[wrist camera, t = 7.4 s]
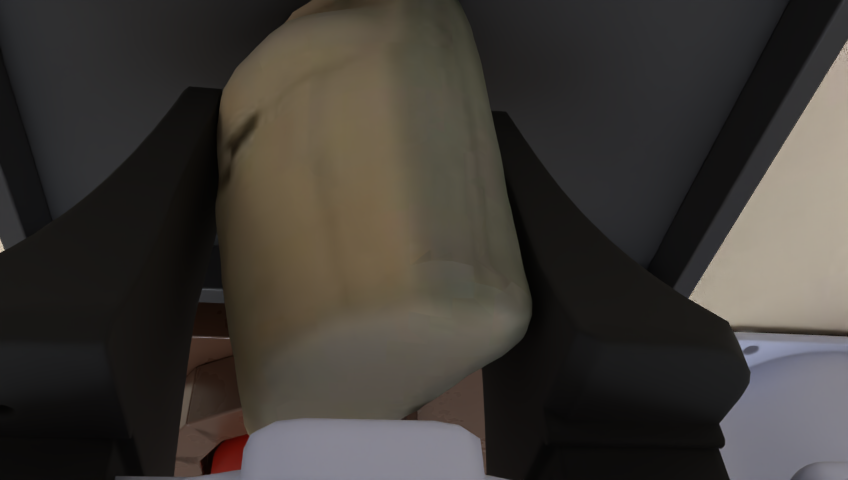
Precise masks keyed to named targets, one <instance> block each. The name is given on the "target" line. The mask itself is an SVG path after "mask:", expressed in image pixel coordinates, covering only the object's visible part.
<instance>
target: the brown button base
mask: <svg viewBox="0 0 848 480" xmlns="http://www.w3.org/2000/svg"><path fill="white" fill-rule="evenodd" d="M401 420H422V421H439V422H444V423H450V424H456V425H460V426H461V427H463V428H465V429H466V430H468V431H469V432H471V433H472V434H474V435H475V436H477V437H478V438H480V441H481V448H482V456H483V464H484V473H485V475H486V446H485V418H484V398H483V380H482V368H481V369H479V370H477V371H475V372H473V373H471V374H470V375H468V376H466V377H465V378H464V379H463V380H461V381H460V382H459V383H457V384H456V385H454V386H453V387H452V388H450V389H449V390H447V391H446V392H444V393H443V394H441V395H440V396H439V397H437V398H436V399H434V400H432V401H431V402H429V403H427V404H426V405H424V406H423V407H422V408H420V409H419V410H418V411H415V412H413V413H411V414H409V415H407V416H405V417H404V418H402V419H401ZM246 434H248V433H247V431H246V428H245V426H244V419H243V413H242V406H241V401H240V396H239V390H238V384H237V376H236V369H235V361H234V356H233V351H232V347H231V342H230V337H229V331H228V323H227V316H226V308H225V303H206V302H198V307H197V311H196V316H195V321H194V326H193V333H192V340H191V347H190V353H189V360H188V367H187V375H186V382H185V389H184V397H183V404H182V412H181V420H180V429H179V437H178V445H177V453H176V462H175V471H174V477H196V476H203V475H209V474H211V468H212V461H213V456H214V453H215V451H216V449H217V448H218V446H219V445H220V444H221V443H222V442H223V441H224V440H227V439H231V438H235V437H238V436H242V435H246Z"/></svg>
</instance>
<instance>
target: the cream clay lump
mask: <svg viewBox="0 0 848 480" xmlns="http://www.w3.org/2000/svg"><path fill="white" fill-rule="evenodd" d="M217 159H218V172H219V182H218V191H217V198H216V203H215V216H216V226H217V235H218V243H219V251H220V259H221V276H222V286H223V294H224V301H225V308H226V316H227V323H228V331H229V337H230V342H231V347H232V351H233V356H234V361H235V369H236V376H237V384H238V390H239V396H240V401H241V406H242V413H243V419H244V426H245V428H246V431H247V433H248V435H249V436H250V435H251V434H252V433H254V432H255V431H257V430H259V429H261V428H263V427H265V426H267V425H269V424H271V423H273V422H276V421H282V420H290V419H299V418H329V419H375V420H401V419H402V418H404V417H405V416H407V415H409V414H411V413H413V412H415V411H418V410H419V409H420V408H422V407H423V406H424V405H426V404H427V403H429V402H431V401H432V400H434V399H436V398H437V397H439V396H440V395H441V394H443V393H444V392H446V391H447V390H449V389H450V388H452V387H453V386H454V385H456V384H457V383H459V382H460V381H461V380H463V379H464V378H465V377H466V376H468V375H470V374H471V373H473V372H475V371H477V370H479V369H481V368H482V367H484V366H486V365H487V364H489V363H491V362H493V361H494V360H496V359H498V358H500V357H502V356H503V355H504V354H506V353H507V352H508V351H509V350H511V349H512V348H513V347H514V346H515V345H516V344H518V343H519V342H520V341H521V340H522V339H523V337H524V335H525V333H526V332H527V329H528V326H529V323H530V320H531V317H532V297H531V293H530V289H529V285H528V282H527V278H526V275H525V271H524V267H523V262H522V257H521V252H520V247H519V243H518V238H517V234H516V229H515V225H514V221H513V216H512V211H511V207H510V203H509V199H508V195H507V189H506V183H505V176H504V170H503V164H502V158H501V153H500V149H499V144H498V140H497V136H496V132H495V127H494V122H493V118H492V113H491V108H490V103H489V98H488V93H487V89H486V84H485V79H484V74H483V69H482V64H481V60H480V56H479V53H478V50H477V47H476V43H475V41H474V37H473V32H472V29H471V26H470V23H469V21H468V19H467V17H466V15H465V12H464V10H463V8H462V6H461V4H460V2H459V0H312V1H310V2H309V3H307V4H306V5H304V6H302V7H301V8H299V9H297V10H296V11H294V12H292V14H291V16H290V17H289V18H288V20H287V21H286V22H285V23H284V24H283V25H281V26H280V27H279V28H277V29H276V30H274V31H273V32H272V33H270V34H269V35H268V36H267V37H266V38H265V39H264V40H263V41H262V42H261V43H260V44H259V45H258V46H257V47H256V48H255V49H254V50H253V51H252V52H251V53H250V54H249V56H248V57H247V58H246V59H245V60H243V61H242V62H241V63H240V64H239V66H238V67H237V68H236V69H235V71H234V72H233V74H232V76H231V78H230V79H229V81H228V83H227V84H226V86H225V88H224V89H223V93H222V96H221V101H220V108H219V116H218V123H217Z"/></svg>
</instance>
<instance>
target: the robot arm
mask: <svg viewBox="0 0 848 480" xmlns="http://www.w3.org/2000/svg"><path fill="white" fill-rule="evenodd" d="M221 96H222V89H217V88H205V87H192V86H189V87H188V88H186V89H185V90H184V91H183V92H182V94H181V95H180V96H179V98H178V99H177V100H176V102H175V103H174V104H173V106H172V107H171V108H170V110H169V111H168V112H167V113H166V115H165V116H164V117H163V118H162V119H161V121H160V122H159V123H158V124H157V126H156V127H155V128H154V129H153V130H152V131H151V133H150V134H149V135H148V136H147V137H146V138H145V139H144V140H143V142H142V143H141V144H140V145H139V146H138V147H137V148H136V149H135V150H134V151H133V153H132V154H131V155H130V156H129V157H128V158H127V159H126V160H125V161H124V162H123V163H122V164H121V165H120V166H119V167H117V168H116V169H115V170H114V171H113V172H112V173H111V174H110V175H109V176H108V177H107V178H106V179H105V180H104V181H103V182H102V183H101V184H100V185H98V186H97V187H96V188H95V189H94V190H93V191H91V192H90V193H89V194H88V195H87V196H85V197H84V198H83V199H82V200H80V201H79V202H78V203H77V204H76V205H74V206H73V207H72V208H70V209H69V210H68V211H66V212H65V213H63V214H62V215H61V216H59V217H58V218H56V219H55V220H53V221H52V222H50V223H49V224H47V225H46V226H44V227H43V228H41V229H40V230H38V231H37V232H36V233H34V234H32V235H31V236H29V237H27V238H26V239H24V240H22V241H21V242H19V243H17V244H15V245H14V246H12V247H10V248H8V249H7V250H5V251H3V252H1V253H0V480H848V336H824V335H800V334H776V333H752V332H733V330H732V328H731V326H730V324H729V322H728V321H726V320H724V319H722V318H721V317H719V316H717V315H716V314H714V313H712V312H710V311H709V310H707V309H705V308H703V307H702V306H700V305H698V304H696V303H695V302H693V301H691V300H689V299H688V298H686V297H685V296H683V295H682V294H680V293H679V292H677V291H676V290H674V289H673V288H671V287H670V286H668V285H667V284H665V283H664V282H662V281H661V280H659V279H658V278H657V277H655V276H654V275H652V274H651V273H650V272H648V271H647V270H646V269H644V268H643V267H642V266H641V265H639V264H638V263H637V262H636V261H634V260H633V259H632V258H631V257H629V256H628V255H627V254H626V253H624V252H623V251H622V250H621V249H620V248H619V247H617V246H616V245H615V244H614V243H613V242H612V241H611V240H610V239H608V238H607V237H606V236H605V235H604V234H603V233H602V232H601V231H600V230H599V229H598V228H597V227H596V226H595V225H594V224H593V223H592V222H591V221H590V220H589V219H588V218H587V217H586V216H585V215H584V214H583V213H582V212H581V211H580V210H579V208H578V207H577V206H576V205H575V204H574V203H573V202H572V200H571V199H570V198H569V197H568V196H567V195H566V194H565V192H564V191H563V190H562V189H561V187H560V186H559V185H558V184H557V182H556V181H555V180H554V178H553V177H552V176H551V174H550V173H549V172H548V170H547V169H546V168H545V167H544V165H543V164H542V162H541V161H540V160H539V158H538V157H537V155H536V154H535V153H534V151H533V150H532V148H531V147H530V145H529V144H528V143H527V141H526V140H525V138H524V137H523V135H522V134H521V132H520V131H519V129H518V128H517V126H516V125H515V123H514V122H513V120H512V119H511V117H510V116H509V115H508V113H507V112H505V111H492V110H491V113H492V118H493V122H494V127H495V132H496V136H497V140H498V144H499V149H500V153H501V158H502V164H503V170H504V176H505V183H506V189H507V195H508V199H509V203H510V207H511V211H512V216H513V221H514V225H515V229H516V234H517V238H518V243H519V247H520V252H521V257H522V262H523V267H524V271H525V275H526V278H527V282H528V285H529V289H530V293H531V297H532V317H531V320H530V323H529V326H528V329H527V332H526V333H525V335H524V337H523V339H522V340H521V341H520V342H519V343H518V344H516V345H515V346H514V347H513V348H512V349H511V350H509V351H508V352H507V353H506V354H504V355H503V356H502V357H500V358H498V359H496V360H494V361H493V362H491V363H489V364H487V365H486V366H484V367H482V380H483V398H484V418H485V446H486V475H485V473H484V464H483V456H482V448H481V441H480V438H478V437H477V436H475V435H474V434H472V433H471V432H469V431H468V430H466V429H465V428H463V427H461V426H460V425H456V424H450V423H444V422H439V421H422V420H375V419H329V418H299V419H290V420H282V421H276V422H273V423H271V424H269V425H267V426H265V427H263V428H261V429H259V430H257V431H255V432H254V433H252V434H251V435H250V437H249V439H248V441H247V443H246V445H245V447H244V449H243V457H242V465H241V470H235V471H228V472H222V473H215V474H209V475H203V476H196V477H174V471H175V462H176V453H177V445H178V437H179V429H180V420H181V412H182V404H183V397H184V389H185V382H186V375H187V367H188V360H189V353H190V347H191V340H192V333H193V326H194V321H195V316H196V311H197V307H198V302H199V299H200V295H201V291H202V287H203V284H204V280H205V276H206V272H207V268H208V265H209V261H210V257H211V253H212V250H213V246H214V242H215V238H216V234H217V226H216V216H215V203H216V198H217V191H218V182H219V172H218V159H217V123H218V116H219V108H220V101H221Z"/></svg>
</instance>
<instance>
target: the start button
mask: <svg viewBox="0 0 848 480" xmlns="http://www.w3.org/2000/svg"><path fill="white" fill-rule="evenodd" d="M249 437H250V436H249V435H248V434H246V435H242V436H238V437H235V438H231V439H227V440H224V441H223V442H222V443H221V444H220V445H219V446H218V448H217V449H216V451H215V453H214V456H213V461H212V468H211V474H215V473H222V472H228V471H235V470H241V465H242V457H243V449H244V447H245V445H246V443H247V441H248V439H249Z"/></svg>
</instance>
